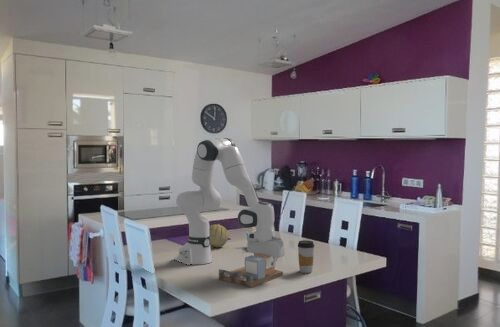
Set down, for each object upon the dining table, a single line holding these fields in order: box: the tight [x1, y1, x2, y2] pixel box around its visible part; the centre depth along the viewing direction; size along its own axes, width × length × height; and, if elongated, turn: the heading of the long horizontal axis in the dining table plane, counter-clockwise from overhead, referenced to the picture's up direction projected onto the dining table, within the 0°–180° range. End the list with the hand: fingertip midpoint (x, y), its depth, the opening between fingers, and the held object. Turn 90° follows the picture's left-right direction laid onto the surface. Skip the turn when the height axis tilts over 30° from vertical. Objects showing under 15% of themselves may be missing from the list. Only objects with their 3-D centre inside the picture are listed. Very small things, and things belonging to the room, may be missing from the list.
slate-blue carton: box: [244, 255, 265, 280], centre depth 195 cm, size 5×8×9 cm, turn 50°
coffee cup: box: [297, 239, 315, 274], centre depth 212 cm, size 8×8×15 cm
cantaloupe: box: [209, 222, 229, 248], centre depth 268 cm, size 15×15×15 cm
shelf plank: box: [218, 266, 284, 288], centre depth 202 cm, size 20×24×4 cm
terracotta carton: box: [256, 253, 276, 274], centre depth 204 cm, size 5×8×9 cm, turn 140°
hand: (265, 264), depth 204 cm, fingers open, 8 cm apart
